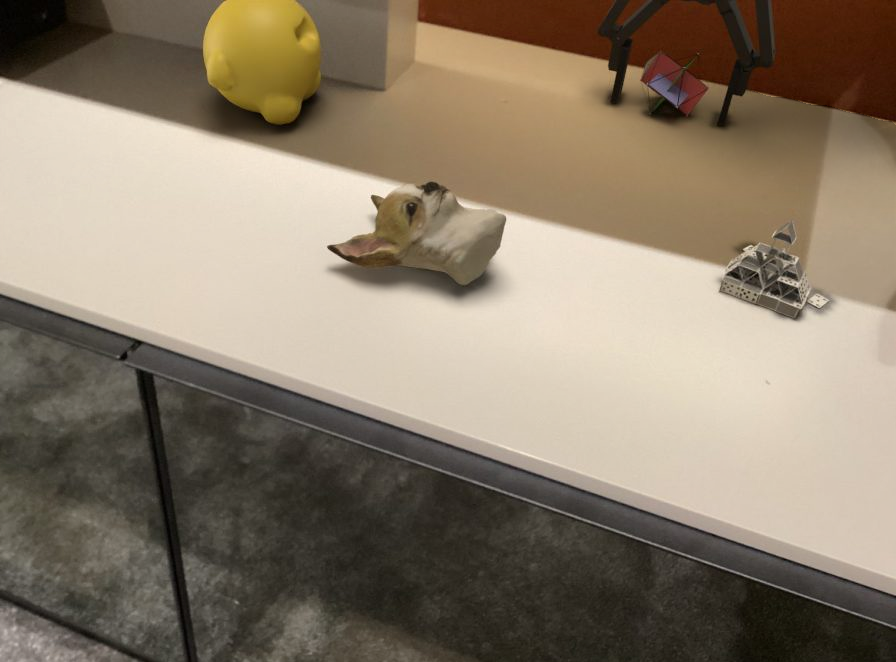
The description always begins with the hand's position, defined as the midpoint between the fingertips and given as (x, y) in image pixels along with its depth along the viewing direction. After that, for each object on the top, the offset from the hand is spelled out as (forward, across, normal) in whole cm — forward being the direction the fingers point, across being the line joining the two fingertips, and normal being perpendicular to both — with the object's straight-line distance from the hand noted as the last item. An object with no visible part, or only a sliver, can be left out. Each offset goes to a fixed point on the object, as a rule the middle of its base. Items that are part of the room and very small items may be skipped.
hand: (668, 108), depth 110 cm
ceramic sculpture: (0, -16, -38) cm, 41 cm away
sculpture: (0, -42, -18) cm, 46 cm away
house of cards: (0, +15, -28) cm, 32 cm away
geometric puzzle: (0, 0, 0) cm, 0 cm away
